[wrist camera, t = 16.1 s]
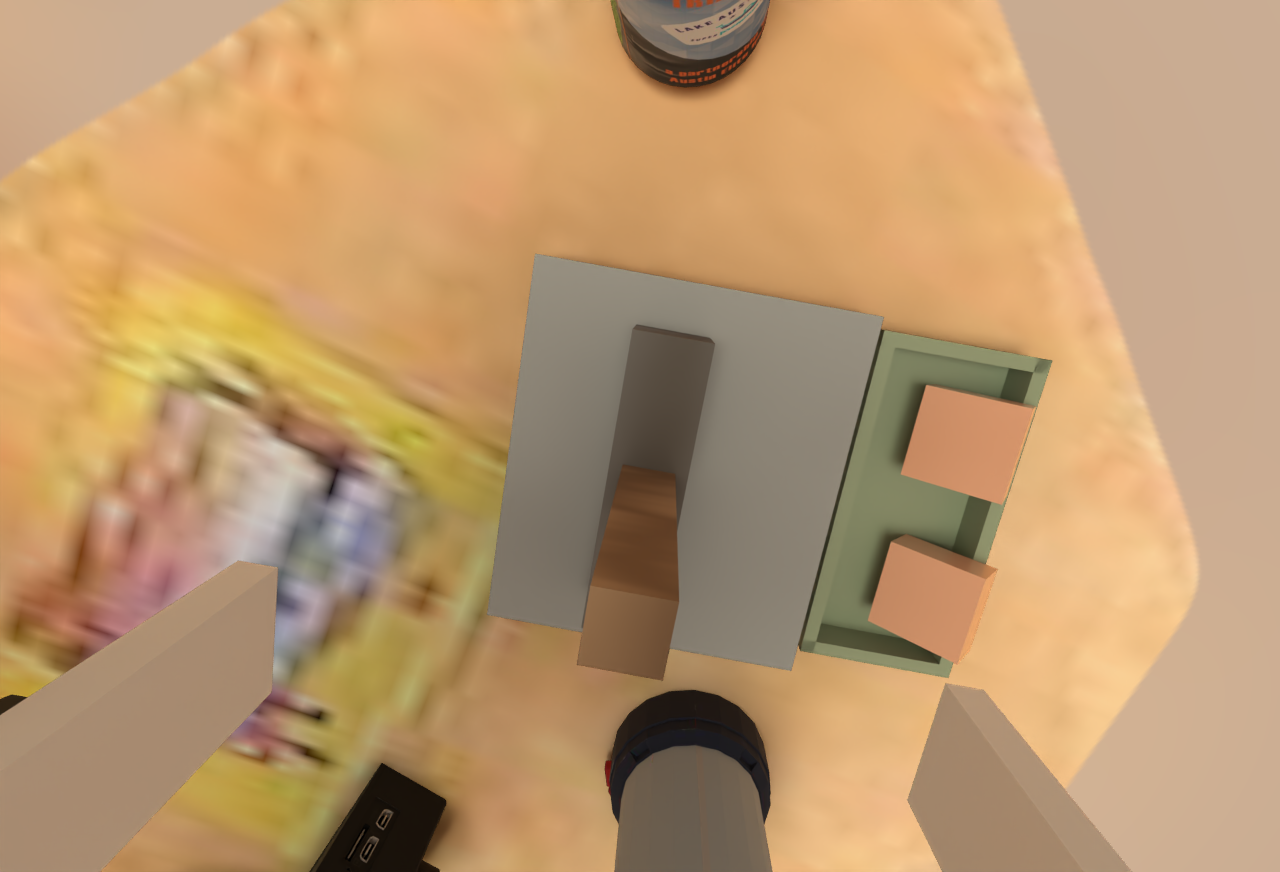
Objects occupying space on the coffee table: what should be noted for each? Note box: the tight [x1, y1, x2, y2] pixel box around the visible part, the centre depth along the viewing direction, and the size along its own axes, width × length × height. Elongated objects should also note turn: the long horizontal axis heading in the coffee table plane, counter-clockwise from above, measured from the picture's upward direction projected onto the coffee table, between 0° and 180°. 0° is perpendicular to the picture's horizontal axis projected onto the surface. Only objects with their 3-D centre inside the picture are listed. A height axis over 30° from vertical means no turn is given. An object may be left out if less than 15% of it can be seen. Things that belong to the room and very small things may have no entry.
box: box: [798, 329, 1052, 678], centre depth 29 cm, size 7×15×2 cm, turn 170°
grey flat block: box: [487, 254, 884, 671], centre depth 29 cm, size 14×16×4 cm
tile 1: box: [868, 534, 998, 664], centre depth 29 cm, size 4×4×2 cm
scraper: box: [577, 325, 715, 681], centre depth 21 cm, size 3×12×13 cm, turn 170°
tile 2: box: [901, 384, 1036, 505], centre depth 27 cm, size 4×4×2 cm
